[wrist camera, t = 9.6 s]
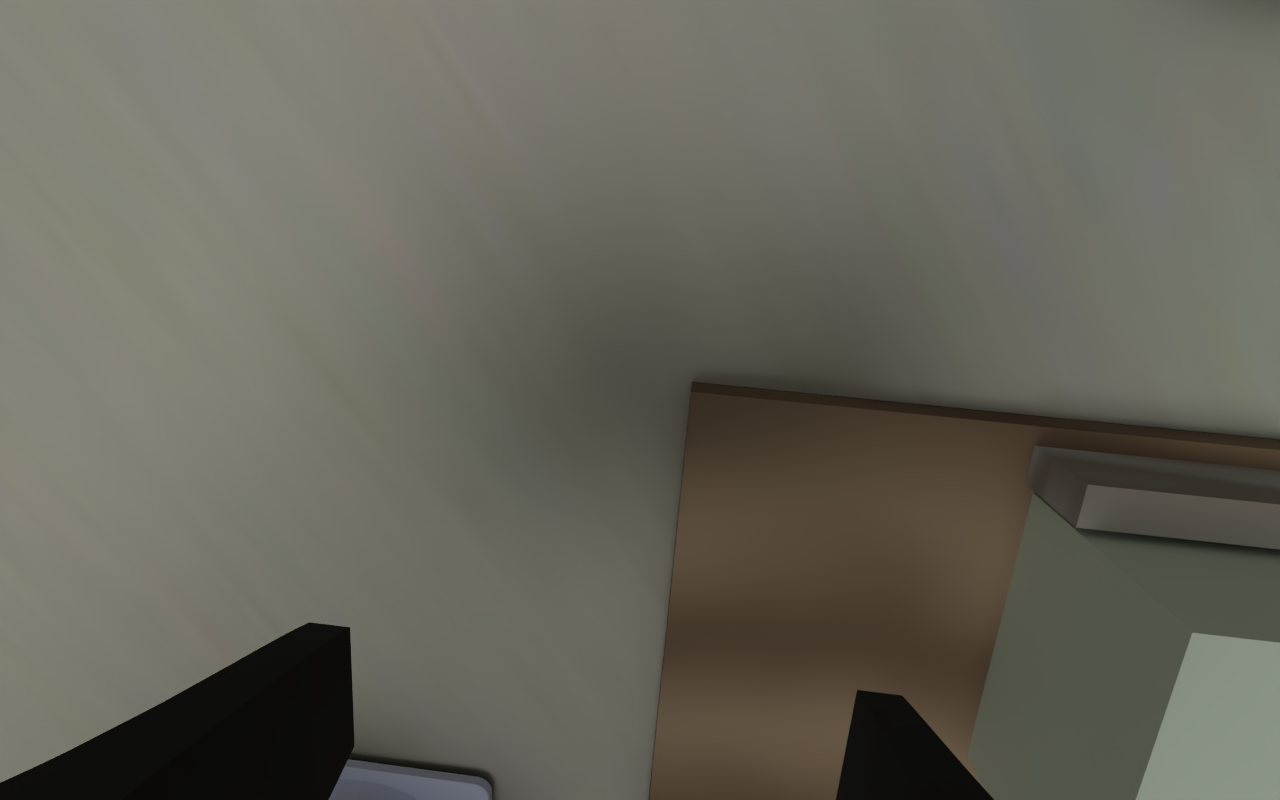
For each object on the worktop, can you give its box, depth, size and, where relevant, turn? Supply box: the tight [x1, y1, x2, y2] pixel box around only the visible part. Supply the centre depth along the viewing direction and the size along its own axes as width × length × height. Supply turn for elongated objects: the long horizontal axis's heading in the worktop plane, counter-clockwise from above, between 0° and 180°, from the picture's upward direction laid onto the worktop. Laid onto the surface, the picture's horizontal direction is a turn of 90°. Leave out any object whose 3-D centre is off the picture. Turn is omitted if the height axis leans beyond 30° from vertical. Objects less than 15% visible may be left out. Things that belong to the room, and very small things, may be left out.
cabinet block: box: [967, 493, 1280, 800], centre depth 16 cm, size 8×6×6 cm
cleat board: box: [649, 382, 1280, 800], centre depth 19 cm, size 15×15×4 cm
